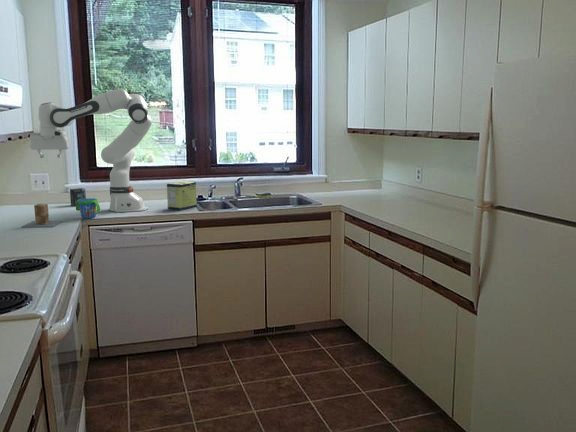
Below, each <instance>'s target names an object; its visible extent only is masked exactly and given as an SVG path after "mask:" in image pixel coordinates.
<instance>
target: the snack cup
mask: <svg viewBox="0 0 576 432" xmlns="http://www.w3.org/2000/svg"><path fill="white" fill-rule="evenodd" d="M75 210H76V211H77V212H79V213H80V216H81V218H82V219H94V218H95V217H96V216H97V214H98V213H100V212H101V206H100V203H99V202H98V199H97V198H92V197H91V198H90V197H89V198H86V199H80V200H77V203H76V206H75Z"/></svg>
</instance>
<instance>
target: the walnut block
mask: <svg viewBox="0 0 576 432" xmlns="http://www.w3.org/2000/svg"><path fill="white" fill-rule="evenodd" d="M33 208H34V217H35V219H34V221H36V225H41V224H47V223H49V221H50V218H49V205H48V203H37V204H35V205H34V206H33Z"/></svg>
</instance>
